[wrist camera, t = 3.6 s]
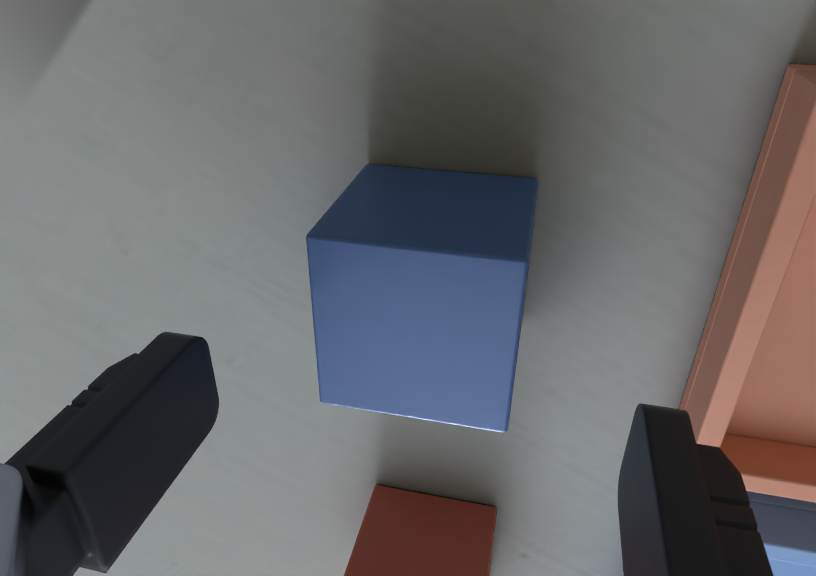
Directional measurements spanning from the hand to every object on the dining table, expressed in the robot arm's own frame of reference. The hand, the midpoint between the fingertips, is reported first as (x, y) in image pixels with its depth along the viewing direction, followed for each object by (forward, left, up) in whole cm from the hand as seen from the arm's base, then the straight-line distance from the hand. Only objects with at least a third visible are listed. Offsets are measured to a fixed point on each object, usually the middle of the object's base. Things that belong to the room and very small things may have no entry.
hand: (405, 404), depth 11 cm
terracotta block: (0, -12, -6) cm, 13 cm away
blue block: (0, 0, -6) cm, 6 cm away
